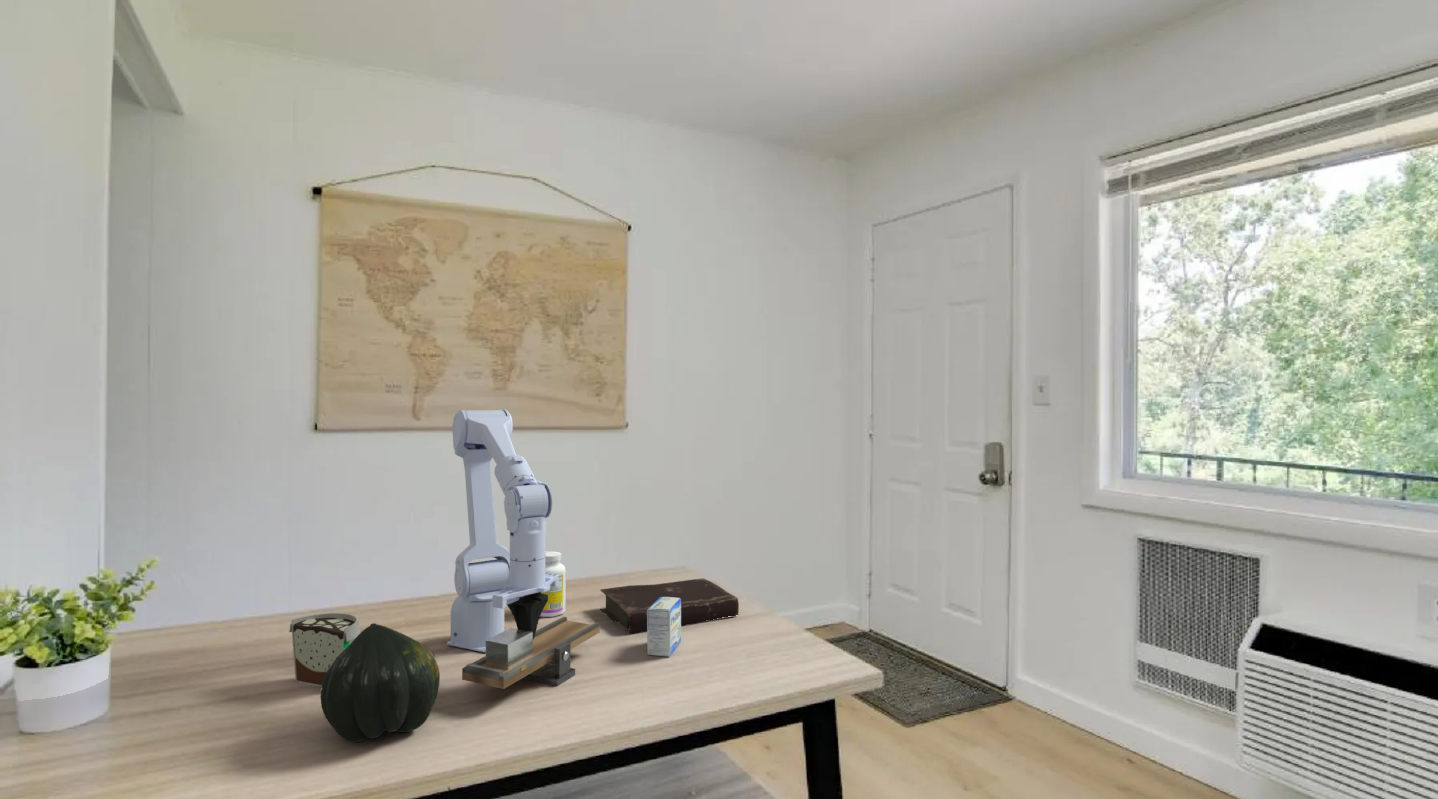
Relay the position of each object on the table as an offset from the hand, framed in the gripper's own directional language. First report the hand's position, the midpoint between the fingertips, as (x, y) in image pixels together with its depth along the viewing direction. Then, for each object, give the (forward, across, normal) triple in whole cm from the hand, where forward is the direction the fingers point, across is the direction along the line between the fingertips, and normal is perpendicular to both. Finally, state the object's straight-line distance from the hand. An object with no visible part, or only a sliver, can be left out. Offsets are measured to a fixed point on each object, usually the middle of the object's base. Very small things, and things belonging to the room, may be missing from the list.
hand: (526, 639), depth 116 cm
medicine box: (+7, +22, -14) cm, 27 cm away
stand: (+7, +3, 0) cm, 7 cm away
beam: (+3, +3, 0) cm, 4 cm away
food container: (+7, -13, +29) cm, 32 cm away
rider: (+2, -4, 0) cm, 4 cm away
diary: (+8, +41, -5) cm, 42 cm away
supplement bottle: (+7, +30, +18) cm, 36 cm away
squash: (+7, -22, +8) cm, 24 cm away
